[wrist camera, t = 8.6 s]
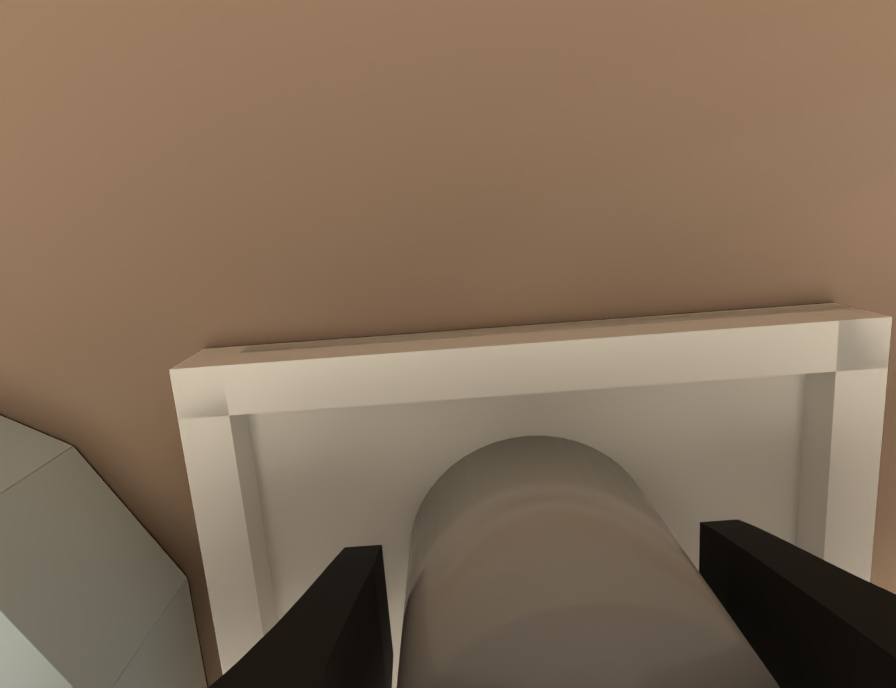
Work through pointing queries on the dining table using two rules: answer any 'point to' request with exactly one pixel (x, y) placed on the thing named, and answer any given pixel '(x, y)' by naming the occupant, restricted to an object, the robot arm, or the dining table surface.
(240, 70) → the dining table surface
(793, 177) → the dining table surface
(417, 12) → the dining table surface
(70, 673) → the bowl
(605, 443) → the parts tray
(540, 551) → the grey rounded cylinder
